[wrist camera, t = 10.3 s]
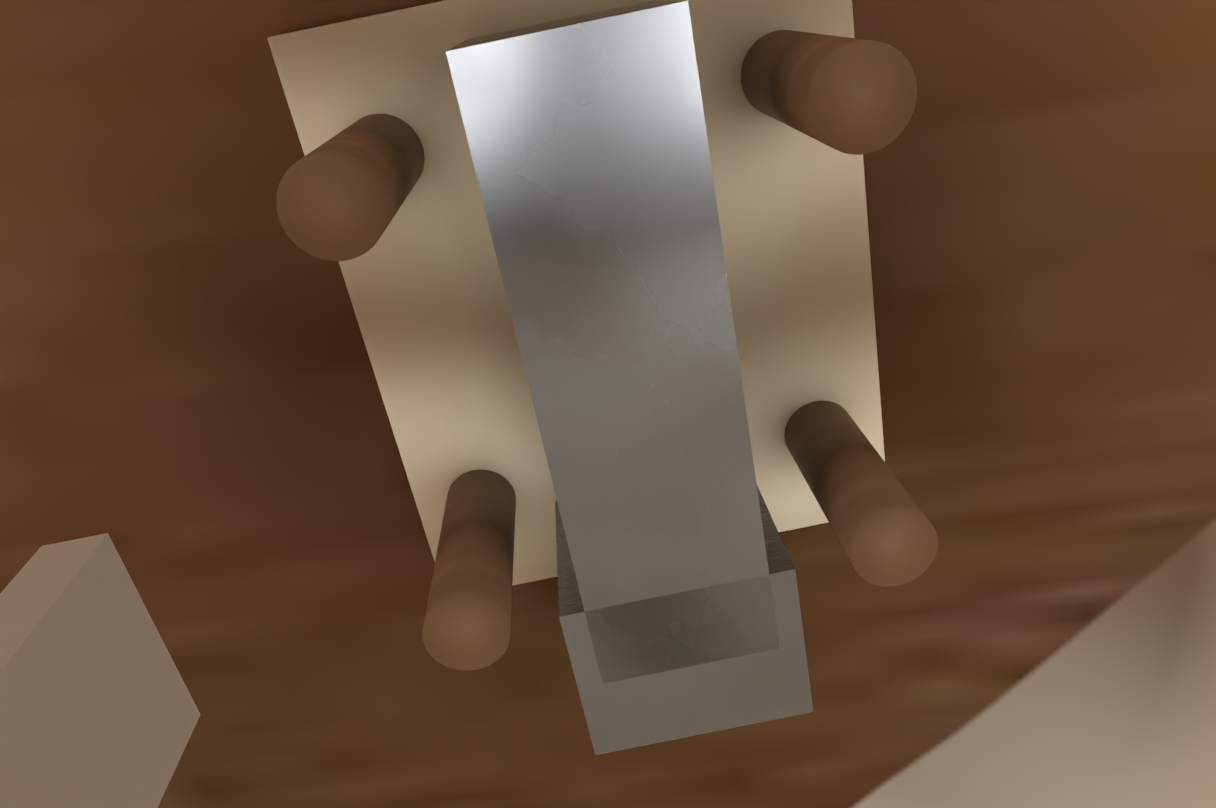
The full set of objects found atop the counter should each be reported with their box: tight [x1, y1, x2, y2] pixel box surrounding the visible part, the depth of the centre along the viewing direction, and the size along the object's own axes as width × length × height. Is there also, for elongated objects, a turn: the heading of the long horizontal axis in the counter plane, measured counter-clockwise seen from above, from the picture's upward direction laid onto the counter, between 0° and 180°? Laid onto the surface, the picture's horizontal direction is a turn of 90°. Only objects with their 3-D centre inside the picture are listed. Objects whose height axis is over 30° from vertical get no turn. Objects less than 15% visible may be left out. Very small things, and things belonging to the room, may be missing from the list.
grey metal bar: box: [446, 0, 813, 755], centre depth 18 cm, size 14×5×4 cm, turn 11°
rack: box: [267, 0, 938, 670], centre depth 18 cm, size 13×11×6 cm
